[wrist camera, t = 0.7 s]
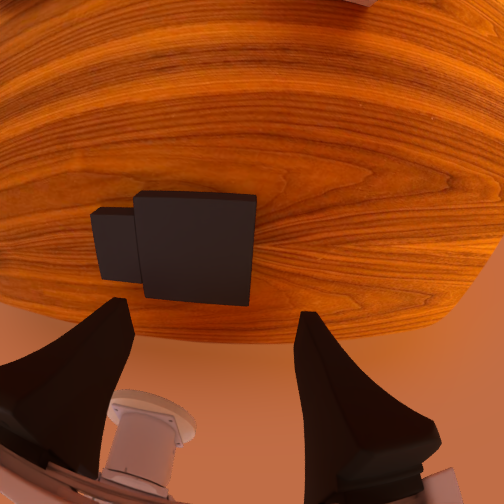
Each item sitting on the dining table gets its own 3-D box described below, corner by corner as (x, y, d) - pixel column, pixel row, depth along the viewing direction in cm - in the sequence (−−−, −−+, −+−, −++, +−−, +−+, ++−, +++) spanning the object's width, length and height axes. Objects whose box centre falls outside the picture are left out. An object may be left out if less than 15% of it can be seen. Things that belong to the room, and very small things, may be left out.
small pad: (249, 294, 22) (248, 307, 21) (112, 282, 22) (104, 293, 21) (256, 194, 19) (256, 201, 17) (98, 190, 19) (87, 196, 17)
